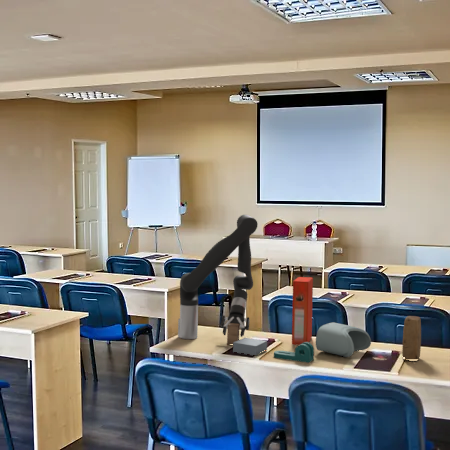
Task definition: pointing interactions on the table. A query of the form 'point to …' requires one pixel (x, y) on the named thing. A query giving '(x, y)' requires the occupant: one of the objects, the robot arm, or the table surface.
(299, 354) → the bracket
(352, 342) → the grey hollow scoop
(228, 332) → the walnut block
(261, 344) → the slate block
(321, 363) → the table surface
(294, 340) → the file binder
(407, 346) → the block
